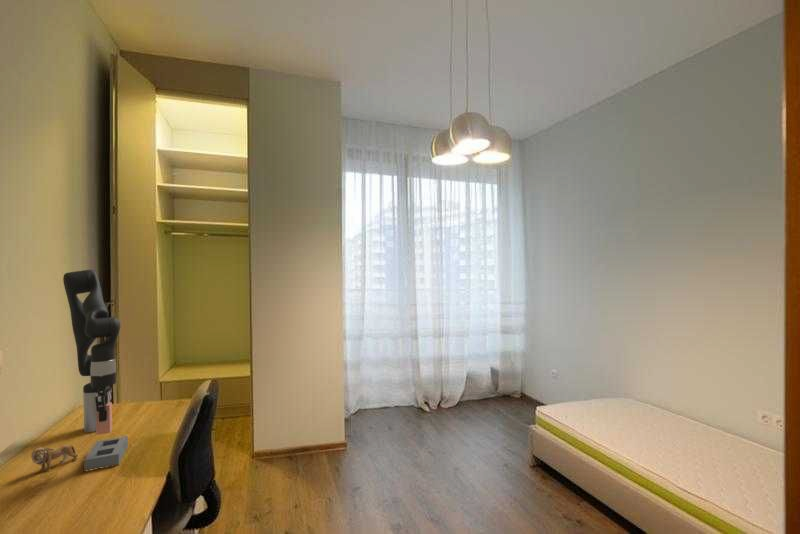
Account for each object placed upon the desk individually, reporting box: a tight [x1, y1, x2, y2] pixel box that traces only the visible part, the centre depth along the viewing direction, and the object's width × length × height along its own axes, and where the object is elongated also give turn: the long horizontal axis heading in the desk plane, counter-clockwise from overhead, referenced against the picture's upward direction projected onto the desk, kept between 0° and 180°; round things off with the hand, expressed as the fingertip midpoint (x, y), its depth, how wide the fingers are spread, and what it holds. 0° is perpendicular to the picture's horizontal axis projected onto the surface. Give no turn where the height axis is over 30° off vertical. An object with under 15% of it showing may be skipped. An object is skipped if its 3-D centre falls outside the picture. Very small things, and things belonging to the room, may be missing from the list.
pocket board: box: [83, 435, 129, 472], centre depth 150 cm, size 18×10×4 cm, turn 26°
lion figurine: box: [30, 443, 79, 472], centre depth 144 cm, size 15×5×9 cm, turn 164°
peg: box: [95, 401, 113, 436], centre depth 146 cm, size 4×4×10 cm
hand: (104, 418), depth 146 cm, fingers closed on peg, 4 cm apart
